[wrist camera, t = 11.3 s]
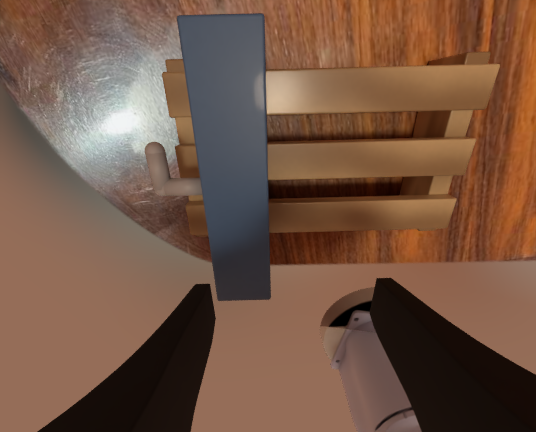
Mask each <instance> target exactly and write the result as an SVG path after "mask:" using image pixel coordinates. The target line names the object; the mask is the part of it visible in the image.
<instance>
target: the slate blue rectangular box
mask: <svg viewBox="0 0 536 432" xmlns="http://www.w3.org/2000/svg"><path fill="white" fill-rule="evenodd" d="M177 22H178V29H179V36H180V43H181V50H182V57H183V64H184V71H185V78H186V85H187V91H188V98H189V105H190V112H191V119H192V126H193V133H194V140H195V147H196V154H197V161H198V168H199V174H200V178H170V173H169V168H168V163H167V158H166V153H165V149H164V147H163V146H162V145H161V144H160V143H157V142H151V143H149V144H147V145H146V147H145V155H146V159H147V163H148V168H149V172H150V176H151V180H152V185H153V189H154V191H155V193H156V194H158V195H160V196H187V195H203V202H204V209H205V216H206V223H207V230H208V237H209V244H210V251H211V257H212V264H213V271H214V278H215V285H216V292H217V299H218V301H232V300H269V299H270V298H271V290H270V288H271V287H270V242H269V198H268V153H267V108H266V63H265V19H264V14H262V13H257V14H214V15H179V16H177Z"/></svg>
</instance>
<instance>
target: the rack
mask: <svg viewBox="0 0 536 432" xmlns="http://www.w3.org/2000/svg"><path fill="white" fill-rule="evenodd" d="M490 54H491V52H467V53H462V54H458V55H454V56H449V57H445V58H441V59H437V60H432V61H429V63H428V66H389V67H349V68H309V69H268V70H266V108H267V115H297V114H336V113H376V112H415V111H418V113H417V118H416V123H415V127H414V132H413V136H412V138H397V139H358V140H319V141H280V142H267V153H268V180H294V179H333V178H371V177H403V182H402V186H401V191H400V195H399V196H363V197H325V198H286V199H269V233H285V232H323V231H361V230H399V229H417V230H419V231H430V230H436V229H437V228H447V227H448V224H449V221H450V218H451V215H452V212H453V209H454V206H455V203H456V198H454V197H452V196H450V195H448V190H449V187H450V184H451V181H452V177H453V175H464V174H465V172H466V169H467V166H468V163H469V160H470V157H471V153H472V150H473V147H474V144H475V141H476V139H475V138H470V137H465V135H466V132H467V129H468V125H469V122H470V119H471V116H472V112H473V110H484V109H486V107H487V104H488V101H489V98H490V95H491V92H492V89H493V85H494V82H495V79H496V76H497V73H498V70H499V67H500V64H488V60H489V57H490ZM165 62H166V68H167V72H163V73H162V77H163V82H164V88H165V93H166V99H167V105H168V110H169V116H170V117H171V118H175V120H176V126H177V132H178V138H179V143H180V144H179V145H177V146H175V150H176V155H177V161H178V167H179V172H180V178H200V174H199V168H198V161H197V154H196V147H195V140H194V133H193V126H192V119H191V112H190V105H189V98H188V91H187V85H186V78H185V71H184V64H183V59H170V60H166V61H165ZM188 196H189V202H188V203H187V205H186V211H187V217H188V222H189V228H190V233H191V235H195V236H196V237H206V236H208V230H207V223H206V216H205V209H204V202H203V195H188Z"/></svg>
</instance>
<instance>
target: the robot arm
mask: <svg viewBox="0 0 536 432" xmlns="http://www.w3.org/2000/svg"><path fill="white" fill-rule="evenodd" d="M215 319H216V318H215V312H214V306H213V301H212V294H211V288H210V284H196V285H195V286H193V288H192V289H191V290H190V291H189V293H188V294H187V295H186V296H185V298H184V299H183V300H182V301H181V303H180V304H179V305H178V306H177V308H176V309H175V310H174V311H173V312H172V313H171V315H170V316H169V317H168V318H167V319H166V320H165V321H164V323H163V324H162V325H161V326H160V327H159V328H158V329H157V330H156V331H155V332H154V333H153V334H152V336H151V337H150V338H149V339H148V340H147V341H146V342H145V343H144V344H143V345H142V346H141V347H140V348H139V349H138V350H137V351H136V352H135V353H134V354H133V355H132V356H131V357H130V358H129V359H128V360H127V361H126V362H125V363H123V364H122V365H121V366H120V367H119V368H118V369H117V370H116V371H114V372H113V373H112V374H111V375H110V376H109V377H108V378H106V379H105V380H104V381H103V382H101V383H100V384H99V385H98V386H97V387H95V388H94V389H93V390H92V391H91V392H89V393H88V394H87V395H86V396H85V397H83V398H82V399H81V400H79V401H78V402H77V403H76V404H74V405H73V406H72V407H70V408H69V409H68V410H67V411H65V412H64V413H62V414H61V415H60V416H58V417H57V418H56V419H54V420H53V421H52V422H50V423H49V424H48V425H46V426H45V427H43V428H42V429H40V430H39V431H38V432H190V431H191V426H192V421H193V415H194V410H195V406H196V401H197V398H198V394H199V390H200V386H201V382H202V379H203V375H204V371H205V367H206V363H207V359H208V356H209V352H210V348H211V344H212V339H213V333H214V326H215ZM330 365H331V368H333V369H339V371H340V376H341V379H342V382H343V386H344V390H345V393H346V397H347V401H348V405H349V408H350V412H351V415H352V419H353V422H354V425H355V427H356V429H357V431H358V432H536V375H535V374H533V373H531V372H530V371H528V370H526V369H524V368H522V367H521V366H519V365H517V364H515V363H514V362H512V361H510V360H508V359H507V358H505V357H503V356H502V355H500V354H498V353H496V352H495V351H493V350H492V349H490V348H488V347H487V346H485V345H484V344H482V343H480V342H479V341H477V340H476V339H474V338H473V337H471V336H470V335H468V334H467V333H465V332H464V331H462V330H461V329H459V328H458V327H456V326H455V325H453V324H452V323H451V322H449V321H448V320H446V319H445V318H443V317H442V316H441V315H439V314H438V313H437V312H435V311H434V310H433V309H431V308H430V307H429V306H427V305H426V304H425V303H423V302H422V301H421V300H419V299H418V298H417V297H415V296H414V295H413V294H412V293H410V292H409V291H408V290H406V289H405V288H404V287H402V286H401V285H400V284H398V283H397V282H396V281H394V280H393V279H392V278H377V280H376V284H375V289H374V294H373V299H372V304H371V309H370V312H369V311H361V310H355V311H354V312H353V313H352V315H351V317H350V320H349V322H348V324H347V326H346V329H345V331H344V333H343V336H342V338H341V340H340V343H339V345H338V347H337V350H336V352H335V354H334V357H333V359H332V361H331V364H330Z"/></svg>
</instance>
